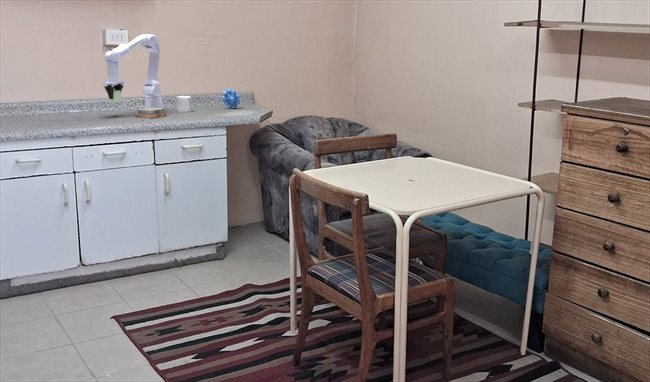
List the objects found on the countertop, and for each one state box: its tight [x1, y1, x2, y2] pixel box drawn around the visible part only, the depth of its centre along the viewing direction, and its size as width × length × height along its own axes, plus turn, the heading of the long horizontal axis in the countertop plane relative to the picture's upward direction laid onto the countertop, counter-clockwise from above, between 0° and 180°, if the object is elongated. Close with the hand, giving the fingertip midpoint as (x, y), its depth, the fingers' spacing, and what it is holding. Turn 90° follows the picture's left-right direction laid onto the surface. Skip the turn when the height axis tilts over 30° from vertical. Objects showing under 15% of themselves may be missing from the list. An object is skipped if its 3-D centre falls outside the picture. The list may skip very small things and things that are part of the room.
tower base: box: [134, 112, 167, 120], centre depth 401 cm, size 12×12×2 cm
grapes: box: [221, 88, 241, 109], centre depth 437 cm, size 12×7×12 cm, turn 114°
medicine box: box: [175, 95, 193, 113], centre depth 424 cm, size 8×4×9 cm, turn 84°
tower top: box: [137, 107, 165, 115], centre depth 400 cm, size 10×10×2 cm
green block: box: [107, 89, 122, 103], centre depth 397 cm, size 4×4×6 cm
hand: (114, 98), depth 398 cm, fingers closed on green block, 4 cm apart
